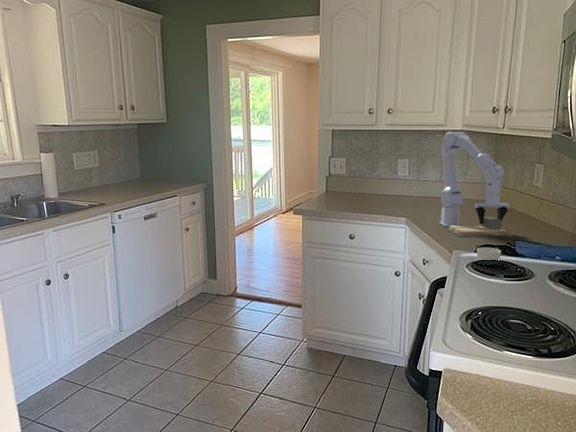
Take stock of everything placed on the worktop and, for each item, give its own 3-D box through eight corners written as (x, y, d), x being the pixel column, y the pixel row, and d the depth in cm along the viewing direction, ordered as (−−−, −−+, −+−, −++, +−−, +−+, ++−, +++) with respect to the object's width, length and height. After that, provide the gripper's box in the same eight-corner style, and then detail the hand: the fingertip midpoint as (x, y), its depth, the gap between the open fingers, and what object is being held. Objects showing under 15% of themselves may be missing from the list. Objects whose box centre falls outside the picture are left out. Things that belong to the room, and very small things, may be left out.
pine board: (444, 228, 202) (444, 224, 202) (494, 228, 202) (494, 224, 202) (458, 236, 185) (458, 232, 184) (513, 237, 184) (513, 232, 184)
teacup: (510, 267, 142) (511, 253, 141) (480, 268, 141) (481, 254, 140) (494, 259, 152) (495, 246, 151) (466, 259, 151) (467, 246, 150)
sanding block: (481, 226, 196) (482, 217, 195) (491, 226, 196) (491, 216, 196) (490, 230, 188) (491, 220, 187) (500, 230, 188) (501, 220, 188)
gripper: (480, 194, 186) (477, 225, 189) (514, 194, 186) (511, 225, 189) (473, 192, 193) (470, 222, 196) (506, 192, 193) (503, 222, 196)
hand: (490, 224), depth 193 cm, fingers open, 7 cm apart
